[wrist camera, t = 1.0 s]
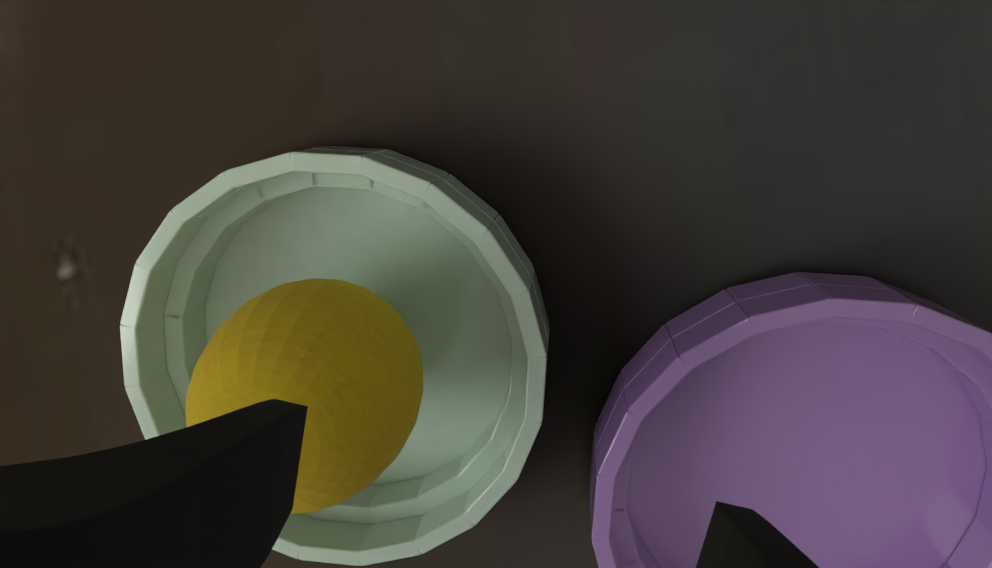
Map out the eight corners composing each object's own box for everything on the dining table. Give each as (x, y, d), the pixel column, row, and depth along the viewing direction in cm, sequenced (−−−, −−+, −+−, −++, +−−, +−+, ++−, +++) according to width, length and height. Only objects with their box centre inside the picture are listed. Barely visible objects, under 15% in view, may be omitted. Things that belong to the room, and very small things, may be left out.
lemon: (268, 410, 24) (123, 558, 16) (273, 242, 22) (117, 315, 15) (438, 434, 23) (372, 596, 16) (453, 264, 22) (389, 351, 14)
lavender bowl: (800, 711, 25) (835, 803, 22) (509, 484, 24) (499, 544, 21) (1110, 453, 22) (1206, 515, 18) (790, 180, 21) (831, 195, 18)
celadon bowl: (397, 571, 25) (372, 637, 22) (113, 356, 24) (46, 393, 21) (628, 316, 22) (638, 350, 19) (316, 61, 21) (273, 54, 18)
